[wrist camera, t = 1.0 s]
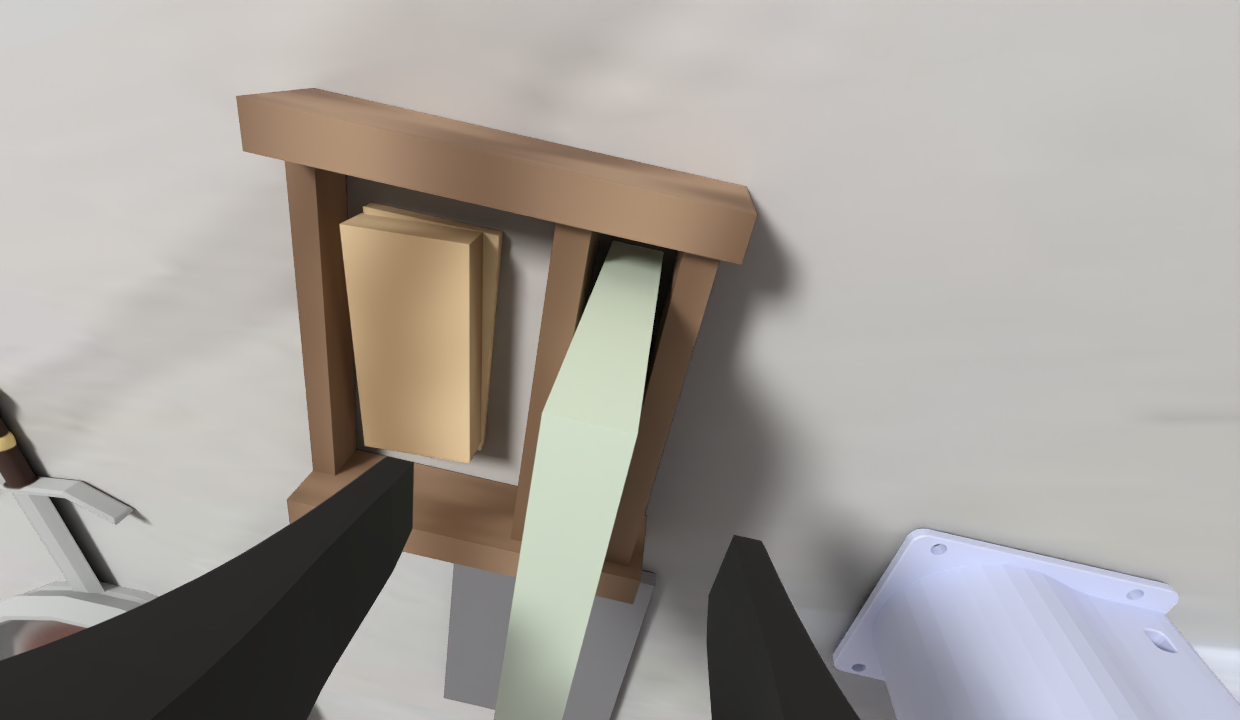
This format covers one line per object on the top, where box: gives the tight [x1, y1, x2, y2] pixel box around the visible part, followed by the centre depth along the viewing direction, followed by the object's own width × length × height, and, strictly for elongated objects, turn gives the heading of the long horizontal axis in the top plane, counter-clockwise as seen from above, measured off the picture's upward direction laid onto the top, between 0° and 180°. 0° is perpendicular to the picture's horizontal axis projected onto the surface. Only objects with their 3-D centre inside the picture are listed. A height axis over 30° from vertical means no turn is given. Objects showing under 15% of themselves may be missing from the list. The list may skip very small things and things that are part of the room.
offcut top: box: [339, 213, 483, 464], centre depth 18 cm, size 4×8×1 cm, turn 173°
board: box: [494, 241, 664, 720], centre depth 15 cm, size 2×9×9 cm, turn 169°
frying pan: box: [0, 418, 158, 661], centre depth 28 cm, size 17×3×28 cm
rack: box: [236, 88, 757, 604], centre depth 17 cm, size 12×14×3 cm
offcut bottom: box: [363, 202, 503, 451], centre depth 19 cm, size 4×8×1 cm, turn 169°
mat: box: [444, 563, 656, 720], centre depth 25 cm, size 8×11×1 cm
